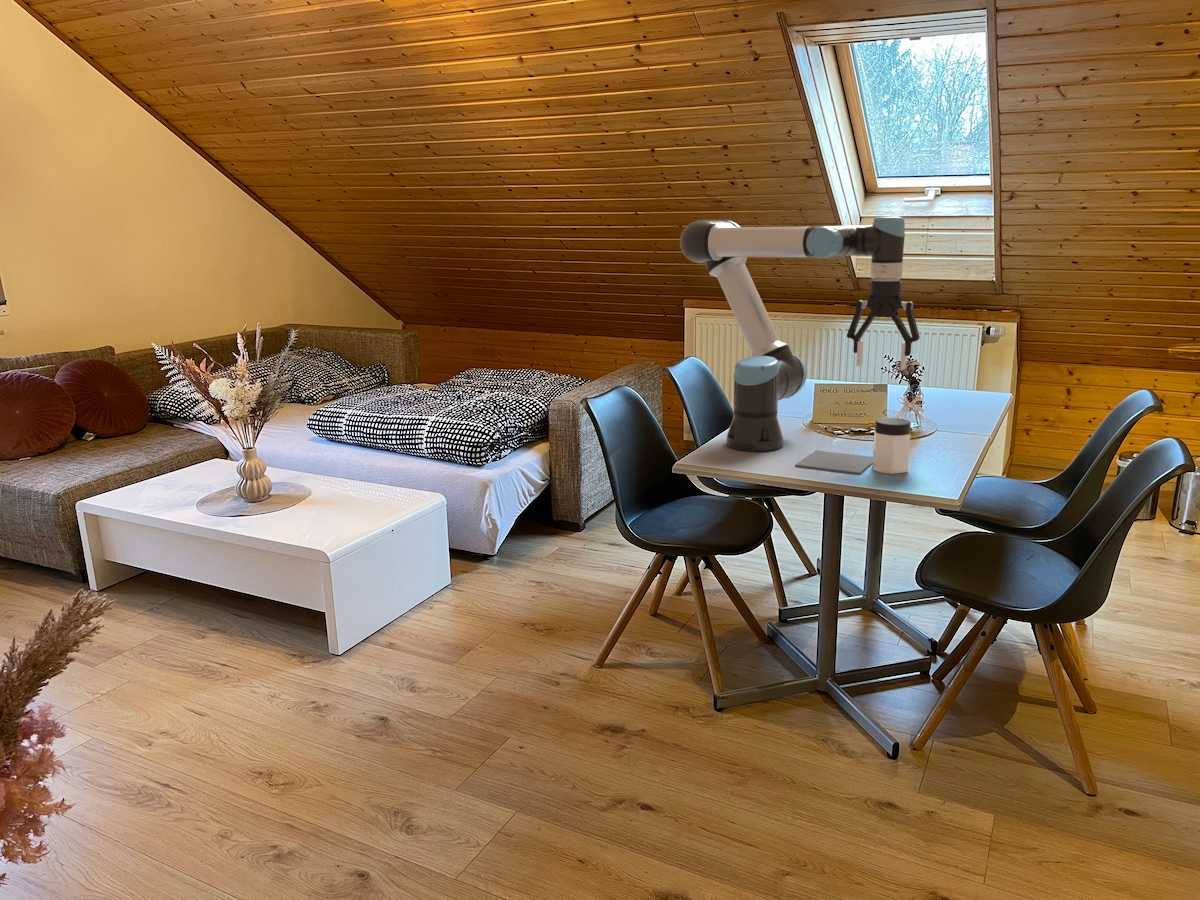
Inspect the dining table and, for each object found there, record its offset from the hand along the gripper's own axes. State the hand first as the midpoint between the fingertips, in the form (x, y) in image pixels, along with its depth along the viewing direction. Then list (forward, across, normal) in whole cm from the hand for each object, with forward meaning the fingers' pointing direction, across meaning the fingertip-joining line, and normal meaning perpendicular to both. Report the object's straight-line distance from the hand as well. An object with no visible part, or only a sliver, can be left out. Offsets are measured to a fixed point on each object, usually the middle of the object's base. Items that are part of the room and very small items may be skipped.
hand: (880, 367), depth 231 cm
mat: (+22, -5, -18) cm, 29 cm away
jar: (+22, +8, -18) cm, 30 cm away
